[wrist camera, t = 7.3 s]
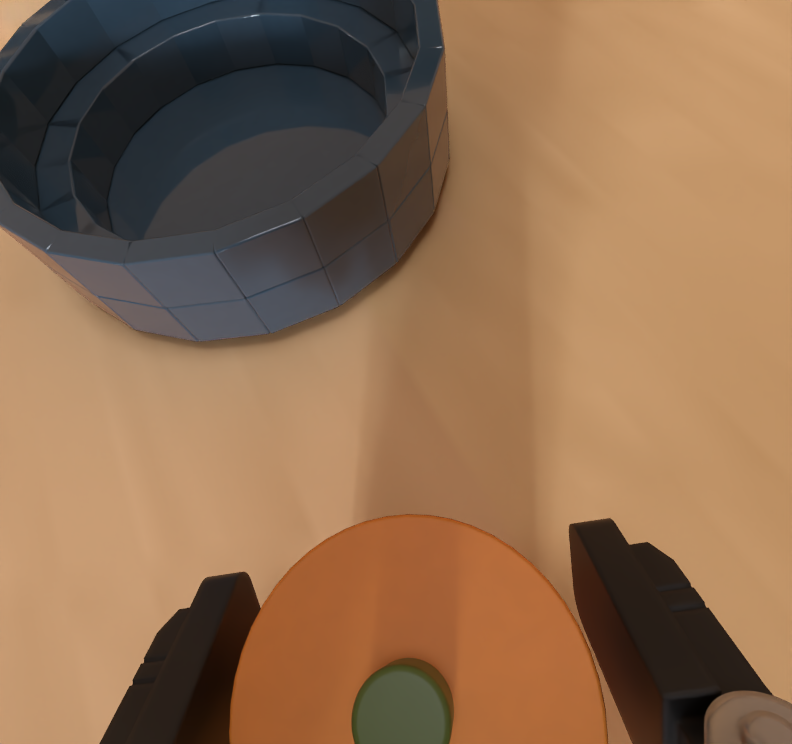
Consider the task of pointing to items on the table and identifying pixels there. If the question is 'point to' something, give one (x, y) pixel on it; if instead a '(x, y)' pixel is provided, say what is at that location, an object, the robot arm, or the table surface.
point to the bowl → (222, 153)
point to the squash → (415, 646)
